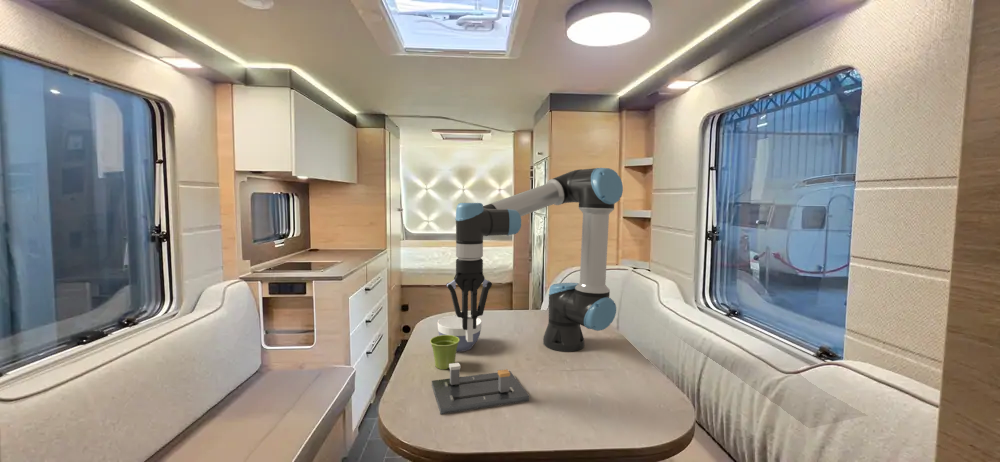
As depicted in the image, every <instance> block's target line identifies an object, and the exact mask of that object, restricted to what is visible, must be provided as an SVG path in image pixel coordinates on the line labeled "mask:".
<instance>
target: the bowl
mask: <svg viewBox="0 0 1000 462" xmlns="http://www.w3.org/2000/svg"><path fill="white" fill-rule="evenodd" d="M469 316H471V314H468V317H469ZM482 322H483V321H482V319H481V318H480V317H479V316H478V317H477V319H476V329H473V342H467V340H466V330H464V329H463V327H462V318H459V317H457V315H456V314H453V315H447V316H443V317H441V318H438V320H437V331H438V336H440V335H452V336H456V337H458V338H459V339H460V341H459V343H458V346H457V350H456V352H466V351H469V350H471V349H472V348H473V346H474V345H475V344H476V343H477V342H478V339H479V338H480V336H481V331H482Z"/></svg>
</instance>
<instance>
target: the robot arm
mask: <svg viewBox="0 0 1000 462" xmlns="http://www.w3.org/2000/svg"><path fill="white" fill-rule="evenodd" d="M622 181H623V180H622V178H621V177H620V175H619V174H618V172H617V171H616V170H614V169H612V168H607V167H596V168H595V167H594V168H585V169H575V170H572V171H571V170H570V171H569V172H566V173H564V174H561V175H559V176H555V177H554V178H553V177H552V178H550V179H549V180H547V182H546V183H545V184H542V185H539V186H536V187H533V188H531V189H528V190H525V191H523V192H520V193H517V194H514V195H510V196H508V197H505V198H502V199H499V200H497V201H494V202H491V203H488V204H483V203H481V202H460V203H458V204H457V205H456V207H455V208H456V209H455V218H454V219H455V257H456V259H455V276H454V278H453V280H452V281H450V282H447V283H446V287H447V288H448V291H449V292H450V296H451V301H452V305H453V309H454V313H455V315H457V317H459V318H462V327H463V329H464V330H466V340H467V342H473V329H476V319H477V317H478V318H479V317H480V316H481V317H482V316H483V315H484V312H485V307H486V303H487V299H488V296H489V295H488V294H489V291H490V289H491V287H492V286H493V282H491V281H490V280H487V279H486V278H485V275H484V273H483V272H484V260H483V258H482V257H484V237H491V236H511V235H516V234H518V233H519V231H520V230H521V227H522V217H524V216H526V215H529V214H531V213H534V212H536V211H539V210H542V209H545V208H547V207H550V206H553V205H554V206H561V205H563V204H567V203H577V204H578V209H579V211H580V212H581V213H582V226H581V228H582V229H581V247H580V251H581V252H580V269H579V270H580V271H579V283H577V282H560V283H559V282H558V283H553V284H551V285H550V286H549V291H548V292H549V293H548V324H547V326H546V329H545V332H544V334H543V338H542V339H543V341H542V343H543V346H545V348H548V349H550V350H553V351H559V352H575V351H579V350H582V349H584V347H585V337H584V335H583V332H582V329H581V326H582V327H585V328H586V329H589V330H593V331H604V330H606V329H607V328H609V326H610V325H611V324H612V323H613V321H614V319H615V317H616V315H617V314H616V313H617V305H616V302H615V301H614V300H613V299H612V298H611V297H610V293H611V291H610V288H609V287H608V286H607V285H606V283H607V280H606V277H607V261H608V243H609V242H608V240H609V220H610V214H611V213H612V212H613V211H614V210H615V204H616V203H618V202H619V201H620V198H622V196H623V191H624V187H623V182H622ZM456 285H457V286H456ZM481 285H482V289H481V292H480V297H479V301H478V290H479V288H480V287H481ZM457 287H459V289H460V290H461V307H460V304H459V303H460V302H459V300H458V295H457V292H456V288H457ZM469 293H470V316H469V317H468V315H469V301H468V300H469Z"/></svg>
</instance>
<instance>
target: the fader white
mask: <svg viewBox="0 0 1000 462" xmlns="http://www.w3.org/2000/svg"><path fill="white" fill-rule="evenodd" d="M448 369H449V378H450V384H451V385H455V384H459V380H460V377H461V375H460V372H461V371H460V370H461V364H460V363H459V362H455V363H452V364H449V368H448Z"/></svg>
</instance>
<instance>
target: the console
mask: <svg viewBox="0 0 1000 462" xmlns="http://www.w3.org/2000/svg"><path fill="white" fill-rule="evenodd" d="M508 371H509V372H510V376H509V391H508V392H501V393H500V391H499V390H498V371H497V372H491V373H489V372H488V373H482V374H475V375H466V376H460V380H459V384H455V385H451V384H450V377H449V378H443V379H441V378H440V379H436V380H431V388H432V390H433V394H434V397H435V400H436V404H437V408H438V410H439V413H440V415H446V414H452V413H453V414H454V413H459V412H466V411H472V410H478V409H485V408H492V407H497V406H498V407H499V406H503V405H511V404H518V403H526V402H529V401H530V395H529V393H528V392H527V391H526V390H525V388H524V387H523V386H522V385H521V384H522V383H520V382H519V380H517V378H516V376H515V375H513V373H512V372H511V371H510V370H508Z"/></svg>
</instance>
